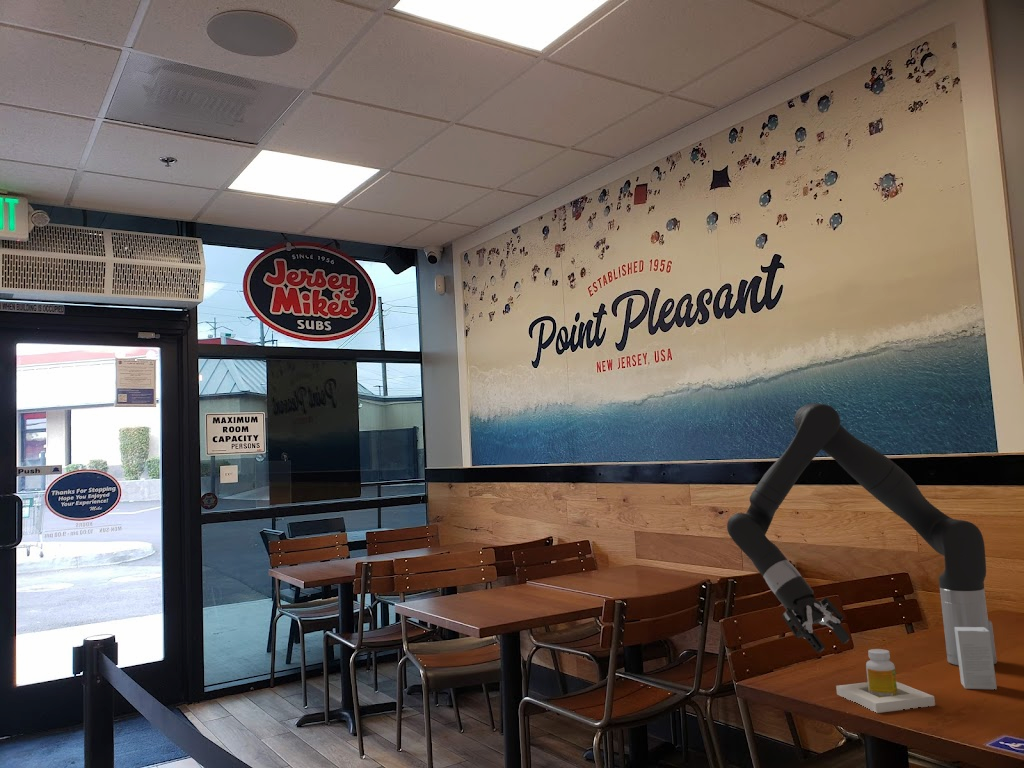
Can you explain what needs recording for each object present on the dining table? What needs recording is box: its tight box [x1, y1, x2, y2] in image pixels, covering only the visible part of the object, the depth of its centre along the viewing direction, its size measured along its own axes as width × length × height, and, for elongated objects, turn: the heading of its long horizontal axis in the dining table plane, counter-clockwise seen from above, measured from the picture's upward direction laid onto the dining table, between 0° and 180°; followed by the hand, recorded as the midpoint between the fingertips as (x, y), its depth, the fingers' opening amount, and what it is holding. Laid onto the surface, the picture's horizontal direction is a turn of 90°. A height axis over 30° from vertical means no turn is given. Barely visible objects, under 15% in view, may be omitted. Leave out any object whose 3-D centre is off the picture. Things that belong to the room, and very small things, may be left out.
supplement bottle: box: [865, 648, 898, 698], centre depth 160 cm, size 5×5×10 cm
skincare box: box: [954, 627, 998, 691], centre depth 165 cm, size 6×4×12 cm
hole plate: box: [835, 681, 936, 714], centre depth 159 cm, size 13×13×2 cm
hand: (834, 645), depth 171 cm, fingers open, 8 cm apart
